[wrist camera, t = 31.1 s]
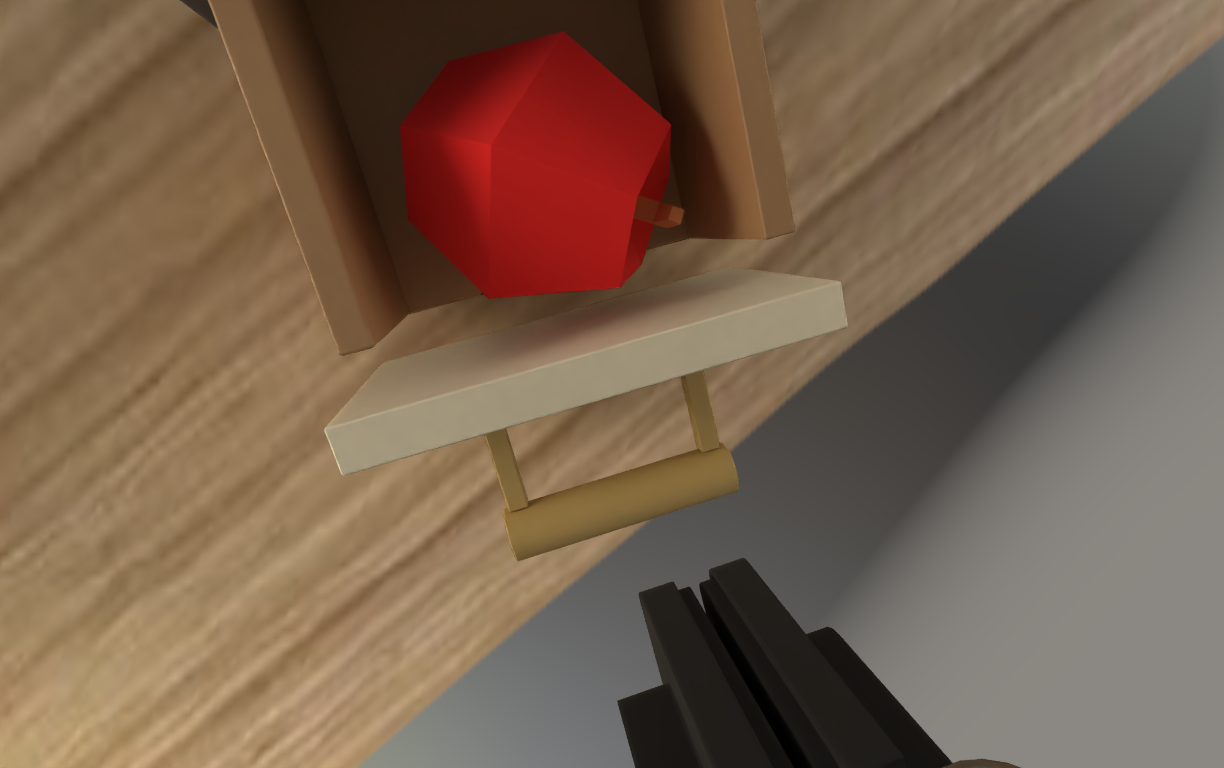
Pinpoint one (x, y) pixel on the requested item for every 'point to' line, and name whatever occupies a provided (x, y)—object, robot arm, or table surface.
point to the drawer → (424, 278)
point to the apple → (536, 169)
